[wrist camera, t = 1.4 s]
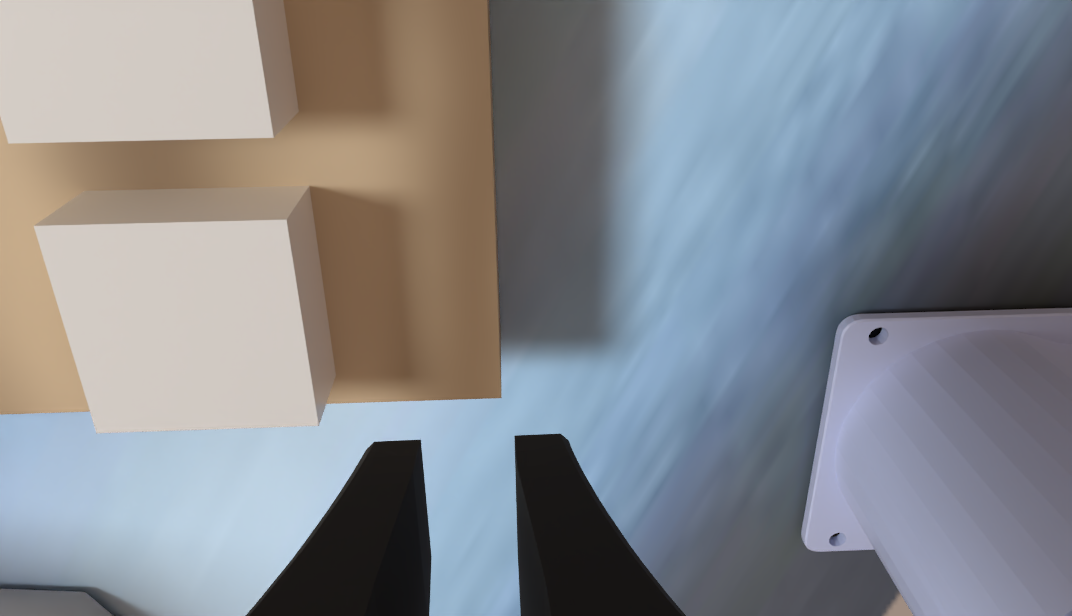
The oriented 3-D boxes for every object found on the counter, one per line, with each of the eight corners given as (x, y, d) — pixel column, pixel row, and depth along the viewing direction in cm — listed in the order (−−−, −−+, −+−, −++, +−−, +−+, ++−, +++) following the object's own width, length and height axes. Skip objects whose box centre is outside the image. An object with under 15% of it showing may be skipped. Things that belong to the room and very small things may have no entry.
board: (482, -188, 16) (479, -206, 14) (500, 337, 22) (501, 398, 19) (-182, -183, 16) (-321, -201, 13) (3, 351, 21) (-68, 416, 18)
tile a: (309, 185, 16) (286, 219, 15) (335, 375, 18) (318, 425, 17) (84, 190, 16) (33, 226, 15) (135, 381, 18) (96, 432, 17)
